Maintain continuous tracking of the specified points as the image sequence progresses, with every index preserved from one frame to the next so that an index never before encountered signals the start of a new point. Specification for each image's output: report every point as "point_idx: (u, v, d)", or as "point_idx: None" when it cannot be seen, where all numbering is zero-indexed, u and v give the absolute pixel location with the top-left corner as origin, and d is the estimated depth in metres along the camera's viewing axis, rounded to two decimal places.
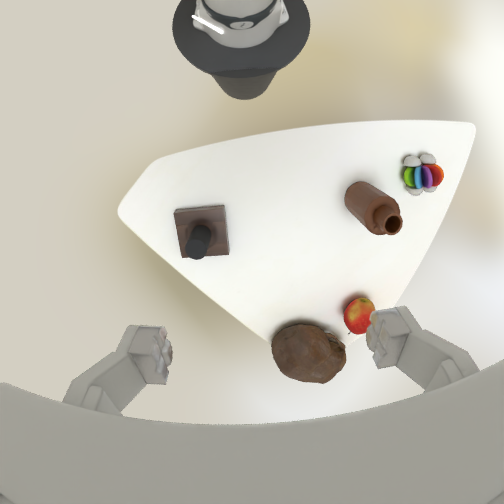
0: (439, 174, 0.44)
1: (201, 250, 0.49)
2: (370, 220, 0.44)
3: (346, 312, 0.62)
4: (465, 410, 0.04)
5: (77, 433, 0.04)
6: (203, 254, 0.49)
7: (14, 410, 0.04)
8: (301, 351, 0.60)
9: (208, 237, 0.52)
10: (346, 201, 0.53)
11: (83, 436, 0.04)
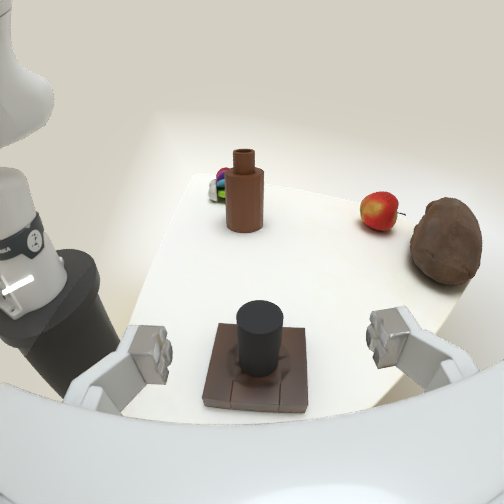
0: (222, 168, 0.65)
1: (263, 307, 0.24)
2: (246, 175, 0.48)
3: (378, 218, 0.50)
4: (465, 410, 0.04)
5: (77, 433, 0.04)
6: (272, 306, 0.24)
7: (14, 410, 0.04)
8: (436, 224, 0.37)
9: None
10: (243, 227, 0.52)
11: (83, 436, 0.04)
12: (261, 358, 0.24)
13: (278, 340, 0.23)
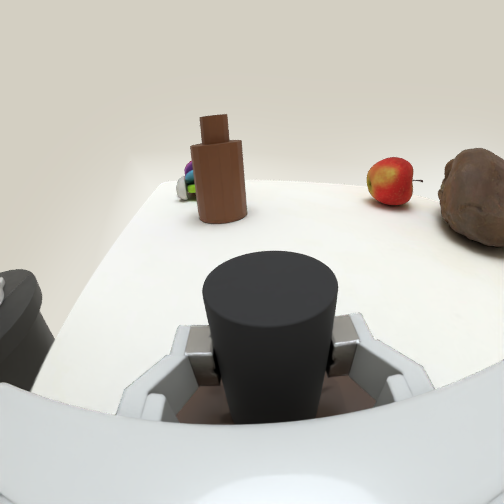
0: (191, 161, 0.53)
1: (275, 263, 0.09)
2: (218, 143, 0.35)
3: (394, 187, 0.38)
4: (465, 410, 0.04)
5: (77, 433, 0.04)
6: (298, 258, 0.09)
7: (14, 410, 0.04)
8: (472, 171, 0.25)
9: None
10: (221, 214, 0.38)
11: (83, 436, 0.04)
12: (287, 402, 0.08)
13: (328, 346, 0.08)
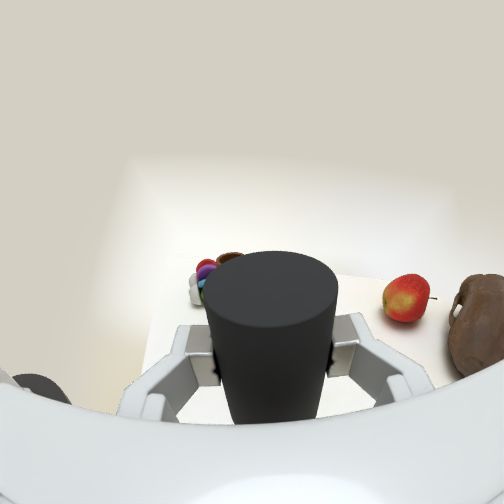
0: (202, 261, 0.53)
1: (275, 263, 0.09)
2: None
3: (408, 313, 0.38)
4: (465, 410, 0.04)
5: (77, 433, 0.04)
6: (298, 258, 0.09)
7: (14, 410, 0.04)
8: (486, 325, 0.25)
9: None
10: None
11: (83, 436, 0.04)
12: (287, 403, 0.08)
13: (329, 346, 0.08)
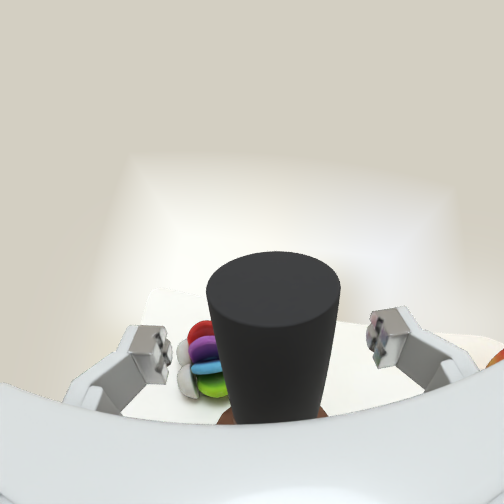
0: (197, 325, 0.29)
1: (277, 263, 0.09)
2: None
3: None
4: (465, 410, 0.04)
5: (77, 433, 0.04)
6: (301, 258, 0.09)
7: (14, 410, 0.04)
8: None
9: None
10: None
11: (83, 436, 0.04)
12: (290, 402, 0.08)
13: (331, 345, 0.08)
